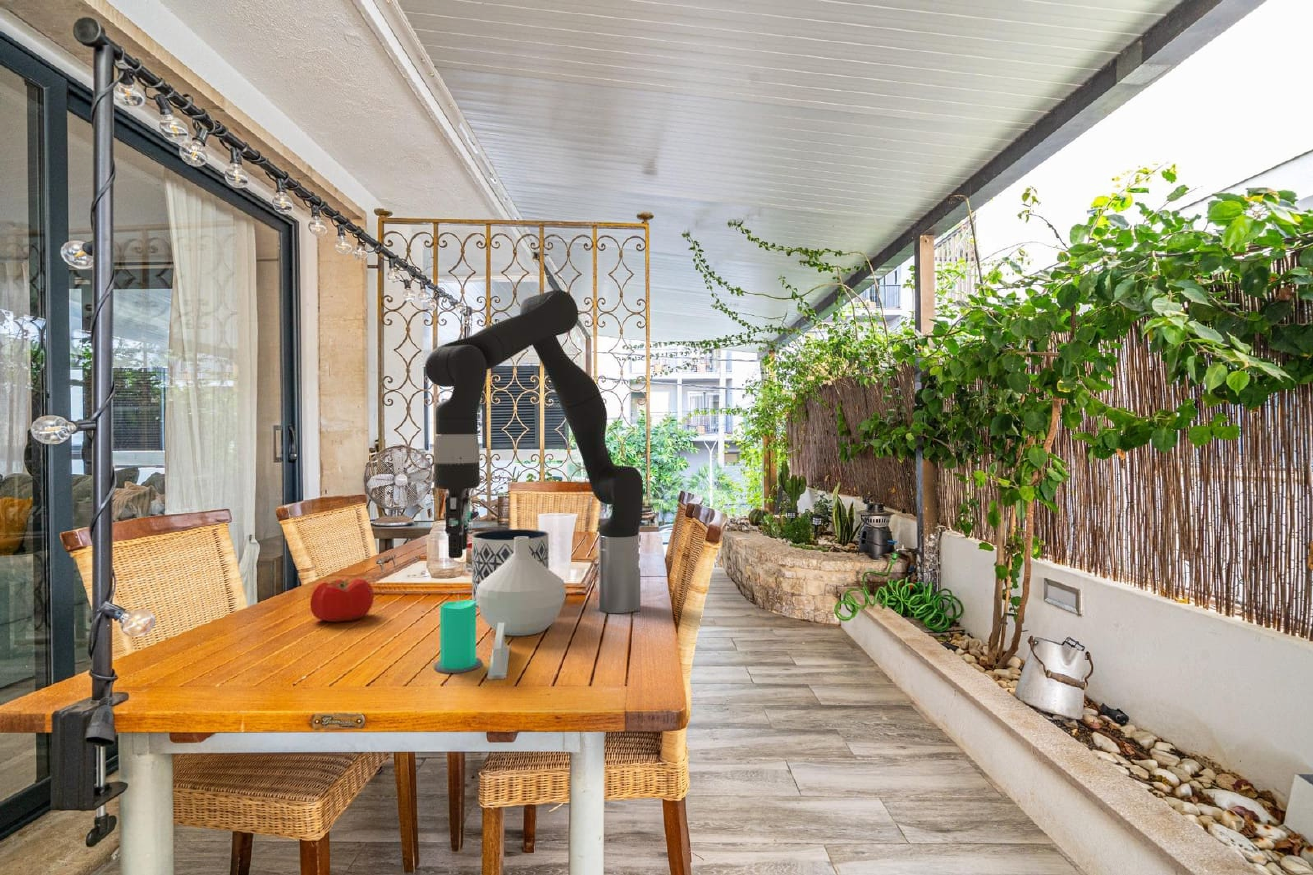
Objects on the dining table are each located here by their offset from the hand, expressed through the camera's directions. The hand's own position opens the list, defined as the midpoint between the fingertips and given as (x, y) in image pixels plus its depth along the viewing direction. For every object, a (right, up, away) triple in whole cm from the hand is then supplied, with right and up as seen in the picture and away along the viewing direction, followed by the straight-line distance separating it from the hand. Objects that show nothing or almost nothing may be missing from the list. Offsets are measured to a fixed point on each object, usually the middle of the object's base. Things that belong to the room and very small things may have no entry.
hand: (458, 553), depth 118 cm
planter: (-1, -20, +47) cm, 51 cm away
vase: (+7, -20, +23) cm, 31 cm away
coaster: (0, -20, 0) cm, 20 cm away
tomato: (-35, -20, +31) cm, 51 cm away
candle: (0, -19, 0) cm, 19 cm away
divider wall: (+7, -20, +1) cm, 21 cm away
